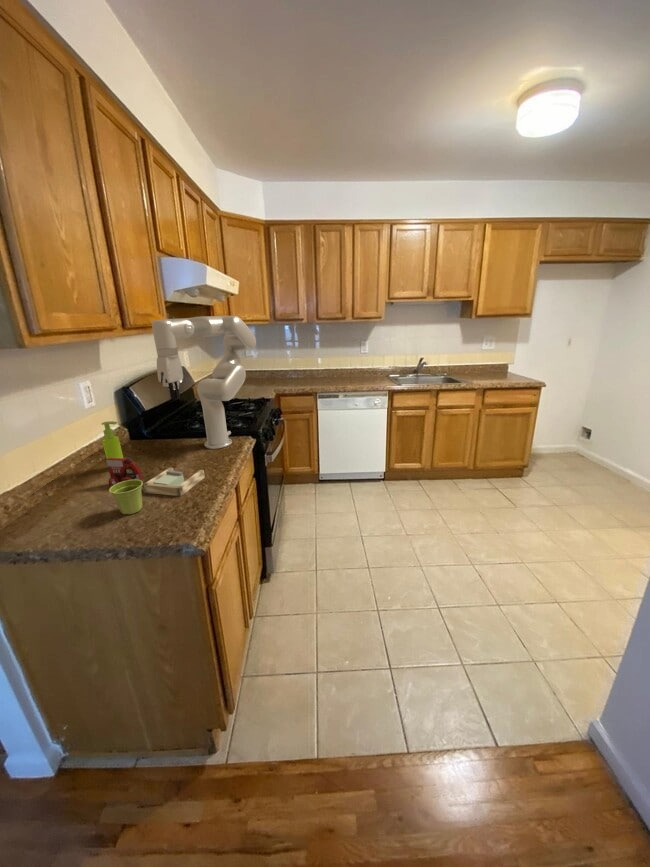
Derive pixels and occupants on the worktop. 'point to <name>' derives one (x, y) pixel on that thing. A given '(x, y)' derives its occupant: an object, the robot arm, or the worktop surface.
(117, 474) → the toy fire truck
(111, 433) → the soap dispenser
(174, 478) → the pale green block
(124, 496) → the plant pot
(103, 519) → the worktop surface
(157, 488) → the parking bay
